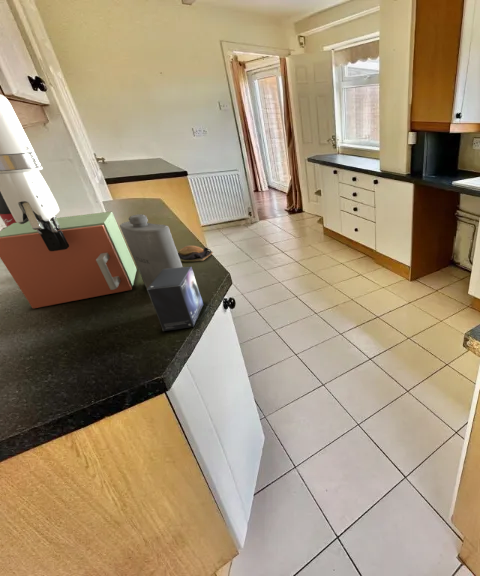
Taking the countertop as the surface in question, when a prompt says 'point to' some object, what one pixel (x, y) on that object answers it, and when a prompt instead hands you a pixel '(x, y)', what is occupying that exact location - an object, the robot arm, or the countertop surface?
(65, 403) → the countertop surface
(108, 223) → the cupboard
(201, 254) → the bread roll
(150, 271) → the flask
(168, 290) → the small box
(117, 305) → the countertop surface
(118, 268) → the door
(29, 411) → the countertop surface
